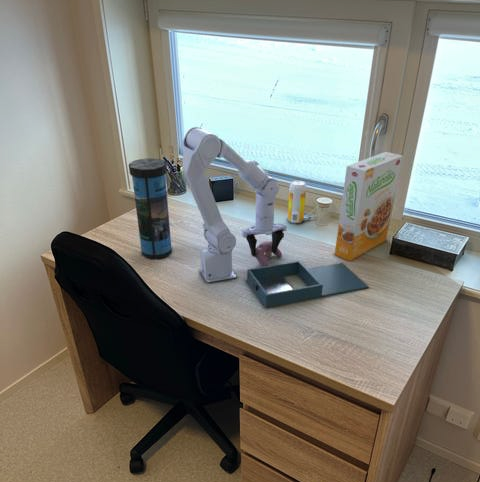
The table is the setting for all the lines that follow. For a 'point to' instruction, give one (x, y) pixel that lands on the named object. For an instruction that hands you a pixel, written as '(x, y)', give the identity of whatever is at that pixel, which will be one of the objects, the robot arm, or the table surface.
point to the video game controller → (267, 249)
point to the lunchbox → (317, 279)
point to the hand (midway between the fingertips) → (263, 253)
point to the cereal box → (367, 204)
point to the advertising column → (152, 207)
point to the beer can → (296, 201)
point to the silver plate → (275, 285)
